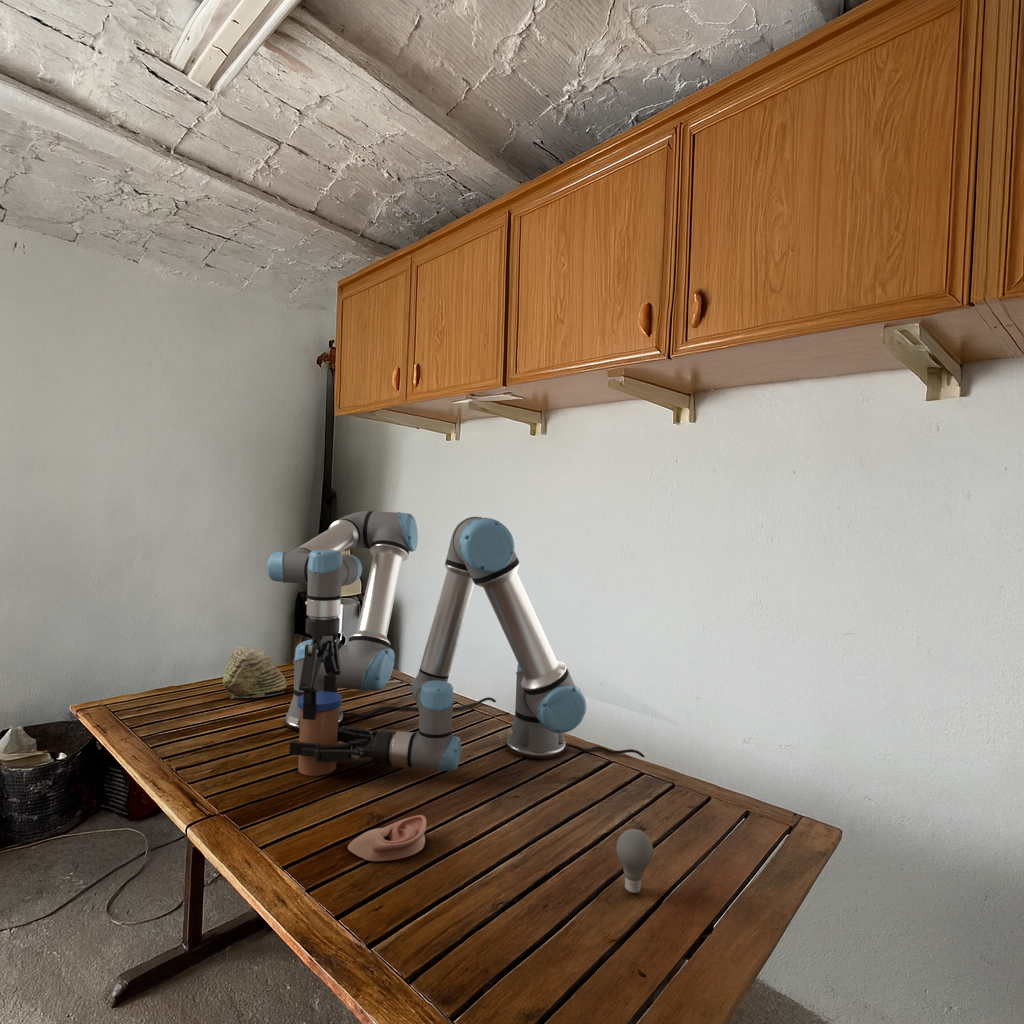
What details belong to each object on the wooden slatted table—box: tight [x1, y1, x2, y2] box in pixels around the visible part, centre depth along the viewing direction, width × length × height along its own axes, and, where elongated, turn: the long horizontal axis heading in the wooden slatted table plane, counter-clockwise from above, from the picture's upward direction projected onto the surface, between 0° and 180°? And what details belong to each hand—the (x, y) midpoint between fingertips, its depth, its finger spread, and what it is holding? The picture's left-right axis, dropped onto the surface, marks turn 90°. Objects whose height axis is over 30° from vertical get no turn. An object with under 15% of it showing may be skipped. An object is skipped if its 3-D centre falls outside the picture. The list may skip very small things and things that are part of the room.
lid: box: [297, 691, 343, 712], centre depth 147 cm, size 10×10×2 cm
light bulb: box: [615, 828, 654, 894], centre depth 106 cm, size 6×6×10 cm
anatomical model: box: [347, 814, 427, 862], centre depth 116 cm, size 13×4×12 cm
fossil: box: [222, 646, 288, 699], centre depth 198 cm, size 9×18×15 cm, turn 132°
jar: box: [297, 707, 339, 777], centre depth 148 cm, size 9×9×16 cm
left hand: (319, 710), depth 148 cm, fingers open, 11 cm apart
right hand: (299, 740), depth 148 cm, fingers closed on jar, 9 cm apart
